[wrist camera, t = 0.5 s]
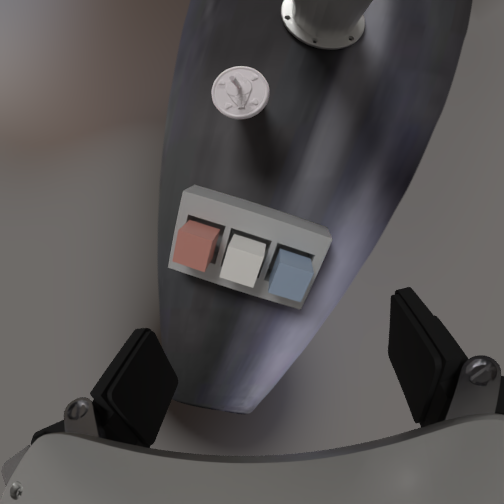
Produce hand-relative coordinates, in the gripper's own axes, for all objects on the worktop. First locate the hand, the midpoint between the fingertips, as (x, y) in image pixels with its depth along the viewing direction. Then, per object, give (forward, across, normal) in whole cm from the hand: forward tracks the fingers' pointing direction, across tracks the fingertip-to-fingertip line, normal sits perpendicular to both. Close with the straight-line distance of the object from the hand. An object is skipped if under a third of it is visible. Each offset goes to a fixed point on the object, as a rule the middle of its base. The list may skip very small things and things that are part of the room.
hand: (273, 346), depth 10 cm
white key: (+27, +6, +6) cm, 29 cm away
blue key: (+28, 0, +9) cm, 29 cm away
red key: (+27, +11, +2) cm, 30 cm away
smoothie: (+32, +1, -15) cm, 35 cm away
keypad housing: (+32, +6, +5) cm, 33 cm away
